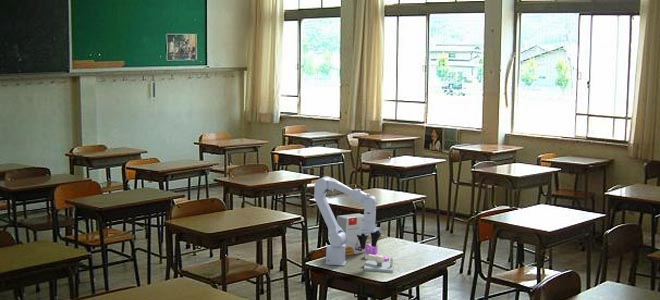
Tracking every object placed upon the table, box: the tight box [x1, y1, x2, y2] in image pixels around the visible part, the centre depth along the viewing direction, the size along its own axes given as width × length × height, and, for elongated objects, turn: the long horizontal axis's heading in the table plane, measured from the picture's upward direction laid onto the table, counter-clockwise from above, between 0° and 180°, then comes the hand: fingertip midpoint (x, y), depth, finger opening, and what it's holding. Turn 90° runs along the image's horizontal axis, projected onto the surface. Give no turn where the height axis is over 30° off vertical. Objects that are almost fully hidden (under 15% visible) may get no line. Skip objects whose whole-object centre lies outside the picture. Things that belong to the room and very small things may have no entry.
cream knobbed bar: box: [364, 253, 385, 263], centre depth 401 cm, size 10×4×3 cm, turn 53°
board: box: [363, 257, 395, 274], centre depth 399 cm, size 14×14×6 cm
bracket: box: [364, 243, 390, 262], centre depth 417 cm, size 13×6×7 cm, turn 48°
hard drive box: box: [336, 213, 367, 256], centre depth 425 cm, size 16×8×20 cm, turn 129°
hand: (368, 247), depth 398 cm, fingers open, 7 cm apart
